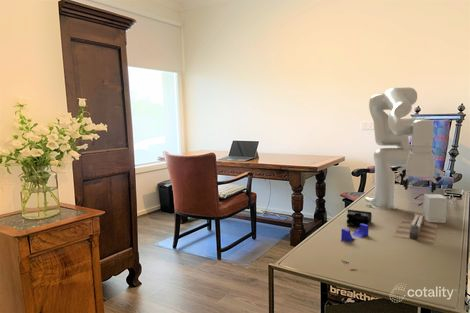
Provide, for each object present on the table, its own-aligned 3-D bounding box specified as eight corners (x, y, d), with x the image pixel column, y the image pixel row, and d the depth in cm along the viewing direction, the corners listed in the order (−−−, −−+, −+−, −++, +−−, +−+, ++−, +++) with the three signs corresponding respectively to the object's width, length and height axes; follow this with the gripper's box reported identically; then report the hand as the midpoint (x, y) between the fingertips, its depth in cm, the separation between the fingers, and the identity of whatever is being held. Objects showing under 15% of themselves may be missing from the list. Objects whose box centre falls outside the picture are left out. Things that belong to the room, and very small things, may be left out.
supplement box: (445, 225, 149) (447, 198, 148) (427, 225, 151) (429, 197, 149) (439, 220, 157) (441, 194, 155) (422, 219, 158) (423, 193, 156)
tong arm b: (420, 236, 133) (420, 227, 133) (415, 235, 134) (415, 226, 134) (424, 222, 149) (425, 214, 148) (419, 221, 150) (420, 213, 149)
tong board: (433, 247, 127) (434, 230, 126) (393, 239, 135) (393, 224, 134) (437, 228, 147) (438, 213, 146) (402, 222, 155) (403, 208, 154)
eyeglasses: (458, 209, 174) (459, 200, 173) (418, 206, 180) (418, 197, 179) (451, 201, 188) (451, 192, 188) (413, 199, 195) (414, 190, 194)
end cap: (371, 225, 153) (371, 210, 152) (369, 229, 147) (369, 215, 146) (348, 221, 158) (349, 207, 157) (345, 226, 152) (345, 212, 151)
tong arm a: (413, 234, 135) (413, 226, 134) (408, 234, 136) (408, 225, 135) (419, 221, 150) (419, 213, 149) (414, 220, 151) (415, 213, 150)
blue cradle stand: (359, 236, 140) (359, 222, 139) (368, 239, 136) (368, 225, 135) (338, 242, 134) (338, 227, 133) (347, 246, 130) (347, 231, 130)
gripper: (396, 149, 139) (394, 189, 142) (446, 152, 130) (443, 195, 132) (399, 147, 146) (397, 186, 148) (446, 149, 136) (444, 191, 138)
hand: (419, 190), depth 140 cm, fingers open, 9 cm apart
